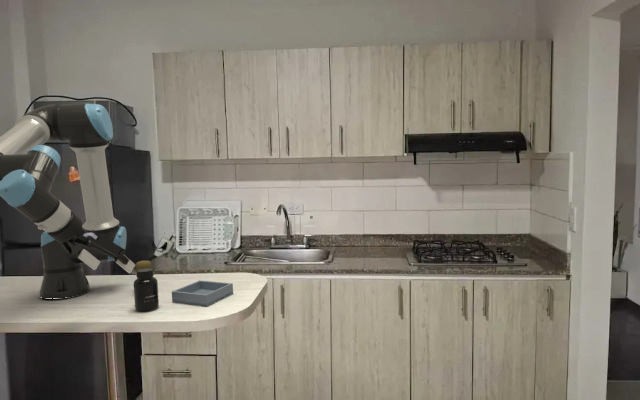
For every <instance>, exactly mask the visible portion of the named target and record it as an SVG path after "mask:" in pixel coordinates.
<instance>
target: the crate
mask: <svg viewBox="0 0 640 400" xmlns="http://www.w3.org/2000/svg"><path fill="white" fill-rule="evenodd" d="M233 285H234V284H233V283H230V282H221V281H220V282H219V281H212V280H211V281H210V280H197V281H194V282H192V283H189V284H187V285H185V286H182V287H180V288H177V289H175V290H173V291H171V301H172V302H171V303H175V304H181V305H182V304H184V305H189V306H199V307H204V308H205V307H206V308H207V307H209V306H211V305H214V304H216V303H218V302H220V301H222V300H224V299H226V298H228V297H230V296H232V295H234V286H233ZM219 300H220V301H219ZM217 301H218V302H217ZM215 302H216V303H215ZM213 303H214V304H213Z"/></svg>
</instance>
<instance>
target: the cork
mask: <svg viewBox="0 0 640 400" xmlns="http://www.w3.org/2000/svg"><path fill="white" fill-rule="evenodd" d="M147 268H150V269H152V262H151V261H150V260H140V261H137V262H136V263H135V267H134V269H135V271H137V270H140V269H147ZM136 279H138V277H136Z"/></svg>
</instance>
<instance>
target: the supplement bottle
mask: <svg viewBox="0 0 640 400" xmlns="http://www.w3.org/2000/svg"><path fill="white" fill-rule="evenodd" d="M154 275H155V273H154V268H151V269H150V268H147V269H140V270H136V279H135V280H134V281H133V296H134V310H135V311H136V312H140V313H144V312H146V313H147V312H152V311H155V310H157V309H158V308H159V307H160V299H159V285H158V284H159V283H158V279H157V278H156V277H154ZM137 277H138V279H137Z"/></svg>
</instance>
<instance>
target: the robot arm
mask: <svg viewBox="0 0 640 400" xmlns="http://www.w3.org/2000/svg"><path fill="white" fill-rule="evenodd" d="M111 119H112V118H111V117H110V113H109V112H108V111H107V109H106V107H104V106H103V105H101V104H98V103H96V104H95V103H70V104H69V103H68V104H67V103H66V104H57V103H56V104H47V105H43V106H40V107H37V108H36V109H32V110H31V111H29V112H26V113H25V114H23V115H22V116H20V117H19V118H18V119H17V120H16V121H15V122H14V126H13V127H11V128H10V129H9V130H8V131H6V132H5V133H3V134H2V135H1V136H0V197H1V198H2V199H3V200H4V201H5V202H6V203H7V204H8V205H9V206H10V207H12V208H13V209H15V210H16V211H17V212H19V213H20V214H22V215H23V217H25V218H27V219H28V220H30V221H31V222H32V223H34V224H35V225H36V226H37V230H40V231H41V230H43V231H44V232H42V234H41V236H40V248H41V258H42V269H43V278H42V281H41V285H40V289H39V298H40V297H42V298H52V299H53V298H65V297H72V296H76V297H78V296H77V295H80V296H82V295H81V294H83V295H85V294H87V293H89V292H90V290H91V288H90V283H89V281H88V278H87V276H86V274H85V272H84V270H83V263H84V264H85V265H86V266H88V267H89V268H91V269H92V270H93V271H96V270H97V268H98V267H99V265H100V263H101V262H111V261H113V263H116V264H117V265H118V266H120V267H121V268H122V270H124V271H125V272H127V273H128V274H131V273H132V271H133V270H134V269H135V266H136V263H134V262H133V261H132V260H131V259H130V258H128V257H127V256H126V255H125V253H126V247H127V237H128V236H127V229H126V227H125V226H121V225H120V220H118V219H117V218H115V216H114V210H113V204H112V195H111V188H110V182H109V173H108V167H107V158H106V152H105V150H106V149H107V147H109V145H110V144H109V141H110V140H112V139H113V137H114V132H113V131H114V129H113V123H112V120H111ZM47 142H68V146H69V147H68V148H70V149H71V150H72V151H73V152H75V157H76V164H77V170H78V177H79V184H80V188H81V196H82V201H83V207H84V214H85V222H84V223H83V220H82V219H81V218H80V217H79V216H78V215H77V214H75V213H74V212H73V211H72V210H71V209H70V208H69V207H68V206H66V205H65V204H64V203H63V202H62V201H61V200H60V199H59V198H57V197H56V196H55V195H54V194H52V192H51V190H52V187H53V185H54V182H55V180H56V177H57V175H58V173H59V171H60V166H61V162H62V161H61V160H62V159H61V155H60V153H59V152H58V151H57V150H56V149H54V148H53V147H51V146H48V145H45V144H46V143H47ZM88 291H89V292H88ZM84 293H85V294H84ZM72 298H73V297H72Z"/></svg>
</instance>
